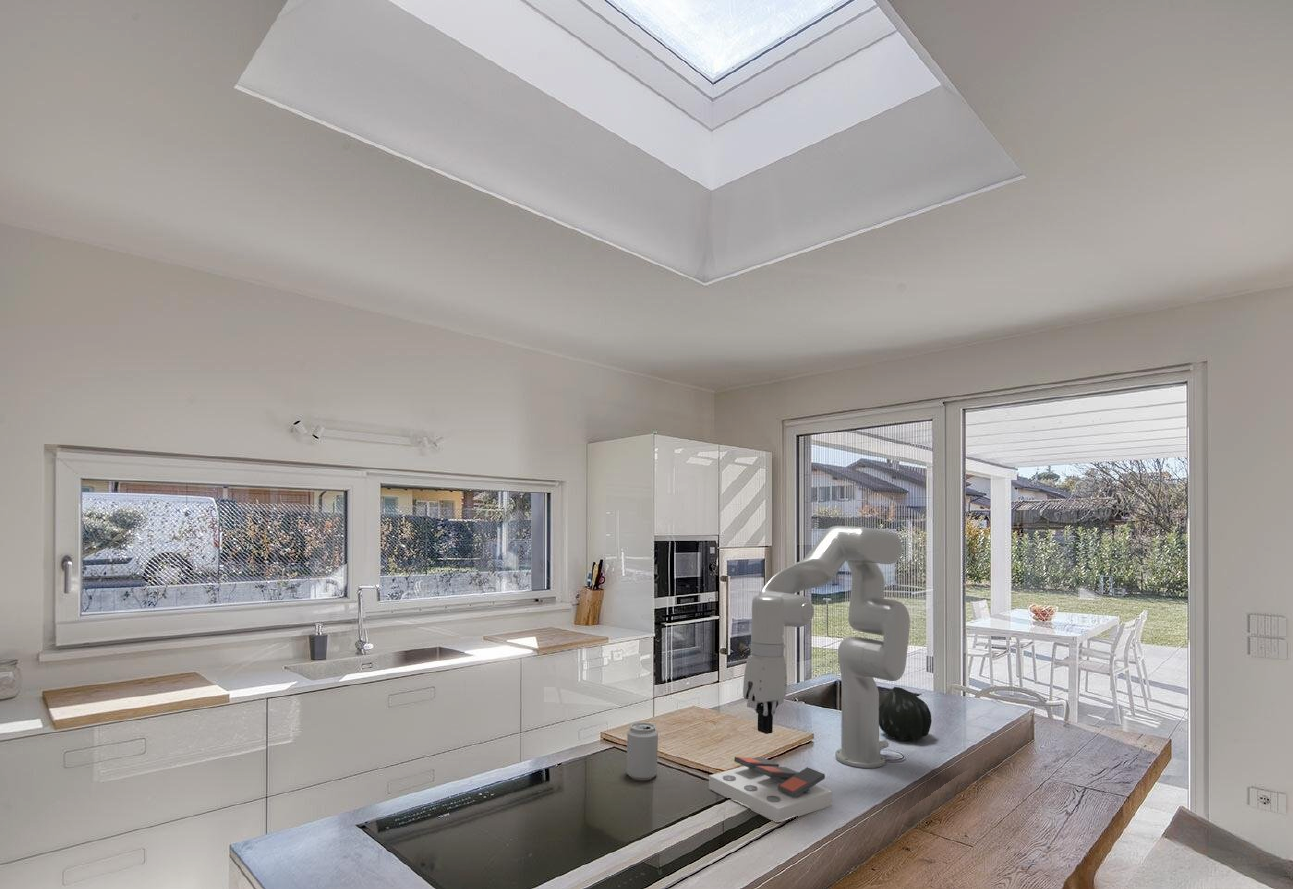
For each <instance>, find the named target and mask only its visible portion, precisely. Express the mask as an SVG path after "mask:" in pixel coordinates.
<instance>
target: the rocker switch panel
mask: <svg viewBox="0 0 1293 889" xmlns="http://www.w3.org/2000/svg"><path fill="white" fill-rule="evenodd" d="M787 779H789V778H773V777H769V776H766V775H764V774H762V773H760V772H757V771H755V768H748V767H746V766H744V765H742V766H739V767H737V768H736V767H735V768H733V769H729V770H724V771H722V772H721V771H720V772H718V773H713V774H710V775H708V789H709V790H710V791H713V792H715V793H716V794H719V795H720V796H723V797H725V798H727V799H728V798H731V799H733V800H737V801H739V802H741V803H743V804H746V805H748V806H749V807H750V809H751V811H752V812H754V813H756V814H758V815H761V816H762V817H764V818H766V819H768V820H770V821H772V820H774V821H780V820H782V819H785V818H789V817H792V816H794V815H795V816H798V817H802V816H805V815H807V814H810V813H813V812H817V811H818V810H822V809H825V808H829V807H831V806H832V805H833V799H832V798H833V796H832V795H833V792H832V790H829V789H827V788H824V787H822V786H820V785H817V784H815V785H814V786H812V787H811V788H809V789H808V790H806V791H804V792H803V793H801V794H800V795H798V796H797V797H793V796H791V795H788V794H786V793H784V792H782V791H780V790H778V786H777V785H779V784H781V783H782V782H784V781H786V780H787ZM750 809H749V810H750ZM798 817H797V818H798ZM774 821H773V822H774Z"/></svg>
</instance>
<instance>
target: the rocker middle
mask: <svg viewBox="0 0 1293 889" xmlns="http://www.w3.org/2000/svg"><path fill="white" fill-rule="evenodd" d="M755 771H757V772H760V773H762V774H764V775H766V776H769V777H773V778H791V777H792V776H794V775H795V774H797V773H799V772H800V771H796V770H794V769H792V768H789V767H787V766H779V767H771V766H756V768H755Z"/></svg>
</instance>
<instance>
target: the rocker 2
mask: <svg viewBox="0 0 1293 889" xmlns="http://www.w3.org/2000/svg"><path fill="white" fill-rule="evenodd" d="M798 772H799V773H797V774H795V775H794V776H792V777H791V778H789V779H787V780H786V781H784V782H782V783H781V784H779V785H777V786H778V790H780V791H782V792H784V793H786V794H788V795H791V796H793V797H797V796H798V795H800V794H801V793H803V792H804V791H806V790H808V789H809V788H811V787H812V786H814V785H817V784H818V783H820V782H821V781H823V780H826V775H825V773H822V772H821V771H818V770H815V769H813V768H811V767H808V766H807V767H806V768H804V769H801V770H800V771H798Z"/></svg>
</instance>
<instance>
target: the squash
mask: <svg viewBox="0 0 1293 889" xmlns="http://www.w3.org/2000/svg"><path fill="white" fill-rule="evenodd" d="M930 710H931V709H930V708H929V705H928V704H927V703H926V702H925V701H924V700H923V699H921V698H920V697H918V696H917V695H916V694H914V693H913V692H911V691H909V690H907V689H905V688H903V687H900V686H899V687H898V686H894V687H892V688H891V690H890V691H889V693H888V694H887V695H886V696H885V697H884V699H883V700H882V701H881V702H880V704H879V729H881V731H883V733H884V734H886V735H887V736H888V738H889V737H890V738H892V739H899V740H900V741H902V742H907V741H908V740H909V741H910V742H917V741H919V740H920V739H921V738H925V737H926V736H928V735H929V733H930V729H931V726H932V712H931V711H930Z"/></svg>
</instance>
